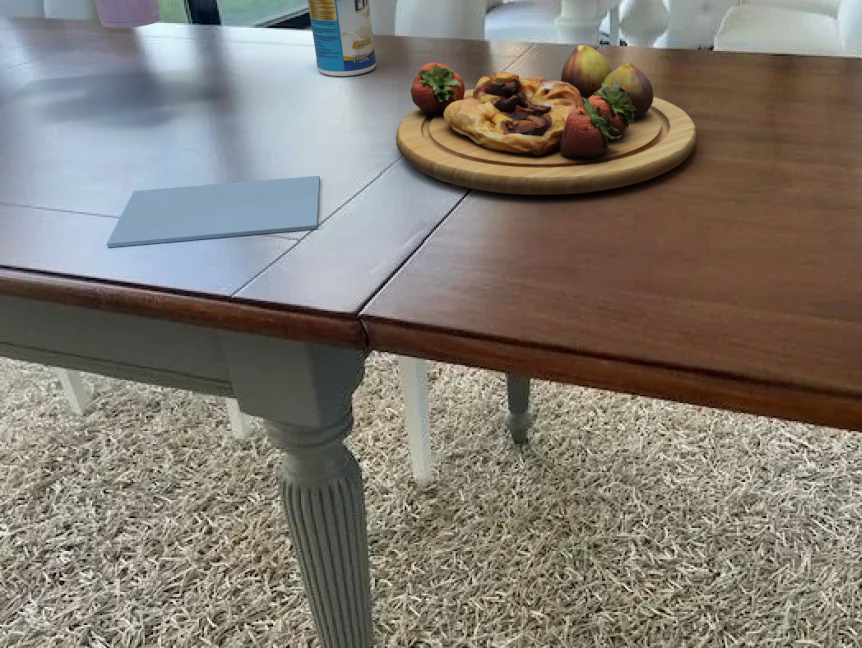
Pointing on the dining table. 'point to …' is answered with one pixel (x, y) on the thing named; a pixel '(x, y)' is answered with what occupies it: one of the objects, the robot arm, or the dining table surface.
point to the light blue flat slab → (218, 211)
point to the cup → (128, 13)
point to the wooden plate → (544, 129)
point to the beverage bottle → (342, 36)
